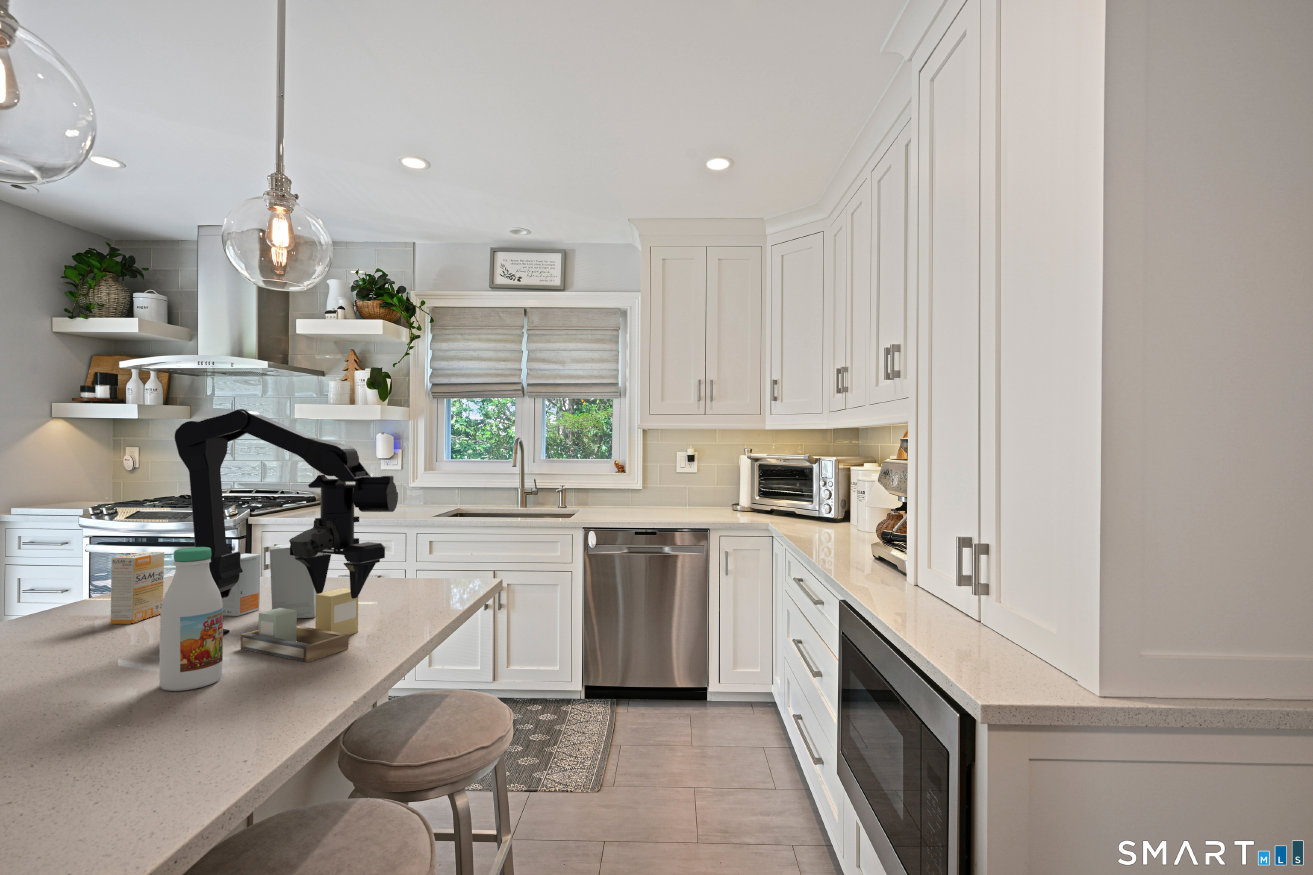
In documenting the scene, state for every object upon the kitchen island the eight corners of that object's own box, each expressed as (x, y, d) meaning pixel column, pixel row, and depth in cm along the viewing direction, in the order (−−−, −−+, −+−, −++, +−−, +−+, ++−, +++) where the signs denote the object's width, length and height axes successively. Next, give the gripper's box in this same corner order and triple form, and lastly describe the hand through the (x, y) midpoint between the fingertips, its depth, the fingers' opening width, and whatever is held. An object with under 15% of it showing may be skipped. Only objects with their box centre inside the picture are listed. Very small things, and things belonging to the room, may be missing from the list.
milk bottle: (154, 696, 94) (155, 554, 94) (164, 678, 101) (166, 546, 101) (219, 686, 98) (220, 550, 98) (225, 670, 105) (226, 543, 105)
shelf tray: (239, 648, 116) (239, 634, 116) (283, 636, 123) (283, 623, 123) (306, 662, 109) (306, 647, 109) (348, 648, 116) (348, 634, 116)
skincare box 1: (237, 616, 137) (238, 558, 137) (220, 615, 138) (220, 557, 138) (261, 609, 143) (261, 553, 143) (243, 608, 144) (244, 552, 144)
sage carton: (258, 647, 117) (258, 612, 117) (279, 640, 121) (279, 607, 121) (275, 650, 115) (275, 615, 115) (296, 644, 119) (296, 610, 119)
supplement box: (133, 624, 131) (134, 557, 131) (109, 624, 131) (109, 557, 131) (165, 613, 140) (165, 550, 140) (142, 613, 140) (142, 550, 140)
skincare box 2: (322, 611, 142) (322, 541, 142) (314, 618, 136) (314, 545, 136) (278, 613, 140) (279, 542, 140) (268, 621, 134) (269, 546, 134)
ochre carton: (315, 637, 123) (315, 594, 123) (342, 629, 128) (342, 587, 128) (331, 640, 121) (331, 596, 121) (358, 632, 126) (358, 589, 126)
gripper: (263, 513, 121) (262, 599, 121) (336, 518, 114) (335, 610, 113) (317, 508, 131) (316, 587, 131) (387, 512, 124) (386, 597, 124)
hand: (336, 595), depth 125 cm, fingers open, 9 cm apart
